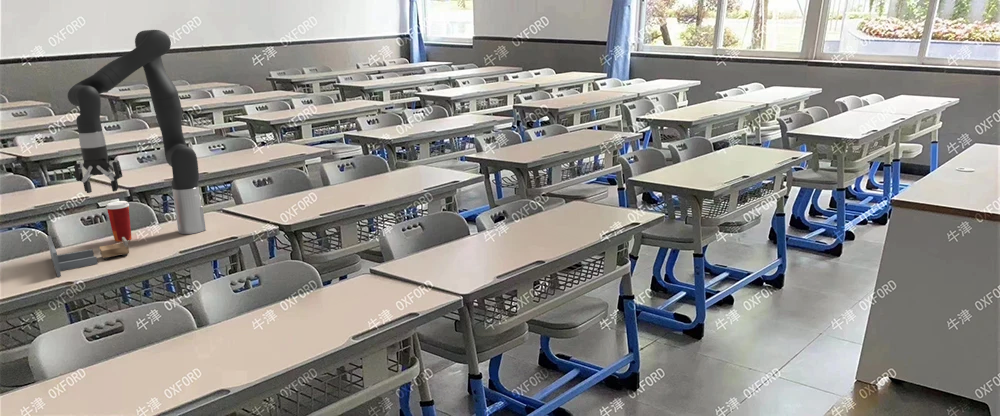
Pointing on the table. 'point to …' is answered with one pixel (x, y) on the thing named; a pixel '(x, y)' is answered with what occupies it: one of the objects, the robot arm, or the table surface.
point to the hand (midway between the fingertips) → (102, 191)
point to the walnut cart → (115, 249)
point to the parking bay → (70, 258)
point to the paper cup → (119, 220)
